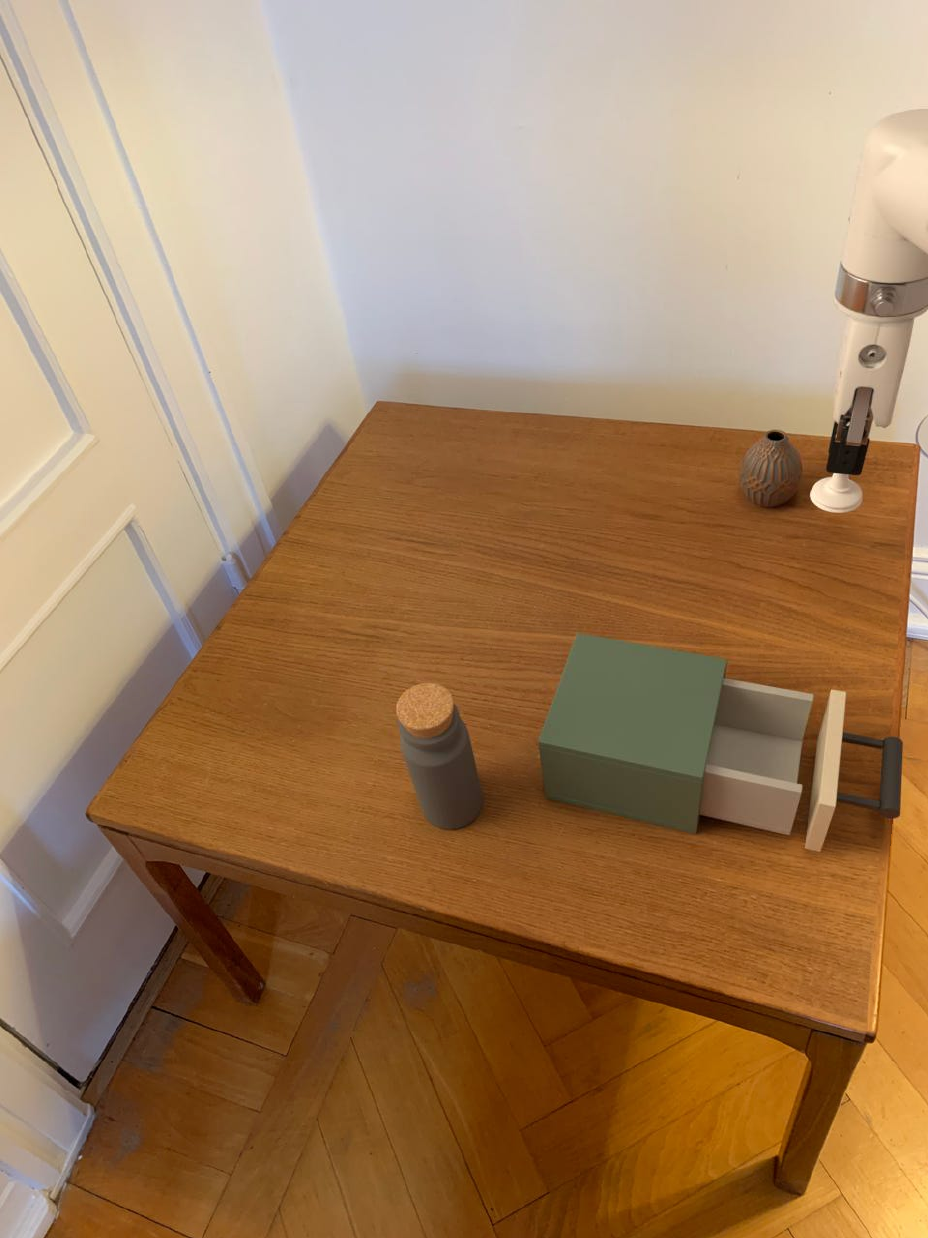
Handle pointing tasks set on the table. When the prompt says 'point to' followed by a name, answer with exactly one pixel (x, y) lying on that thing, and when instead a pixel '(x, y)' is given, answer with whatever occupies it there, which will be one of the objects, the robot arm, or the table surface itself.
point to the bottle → (439, 756)
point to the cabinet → (632, 730)
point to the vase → (770, 470)
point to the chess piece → (836, 493)
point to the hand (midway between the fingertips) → (844, 462)
